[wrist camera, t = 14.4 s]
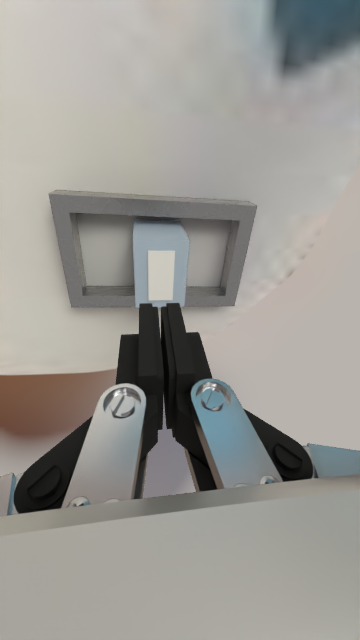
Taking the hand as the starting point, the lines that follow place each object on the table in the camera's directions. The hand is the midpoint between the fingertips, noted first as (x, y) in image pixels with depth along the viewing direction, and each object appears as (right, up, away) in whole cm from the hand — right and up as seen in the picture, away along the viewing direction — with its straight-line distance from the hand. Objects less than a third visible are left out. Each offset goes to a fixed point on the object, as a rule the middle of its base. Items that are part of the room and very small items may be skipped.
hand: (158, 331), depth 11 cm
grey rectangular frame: (-2, +9, +19) cm, 20 cm away
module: (-2, +9, +19) cm, 21 cm away
